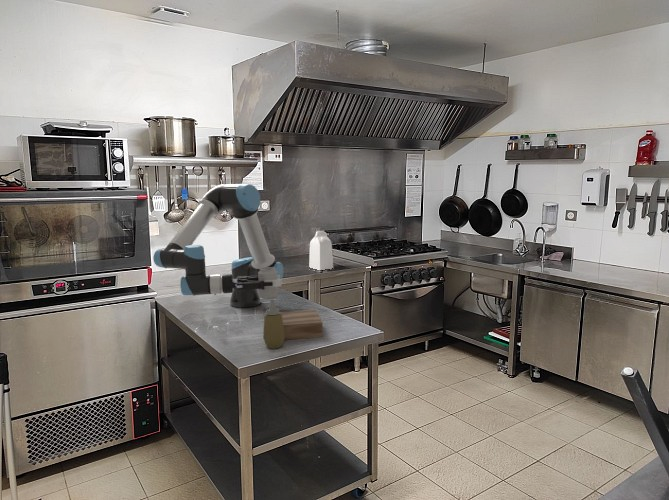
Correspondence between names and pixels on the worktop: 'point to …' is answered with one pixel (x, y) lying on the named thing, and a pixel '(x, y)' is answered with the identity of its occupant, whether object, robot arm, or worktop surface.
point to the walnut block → (301, 324)
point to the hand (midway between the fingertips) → (280, 280)
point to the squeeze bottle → (273, 327)
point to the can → (268, 274)
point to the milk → (320, 252)
